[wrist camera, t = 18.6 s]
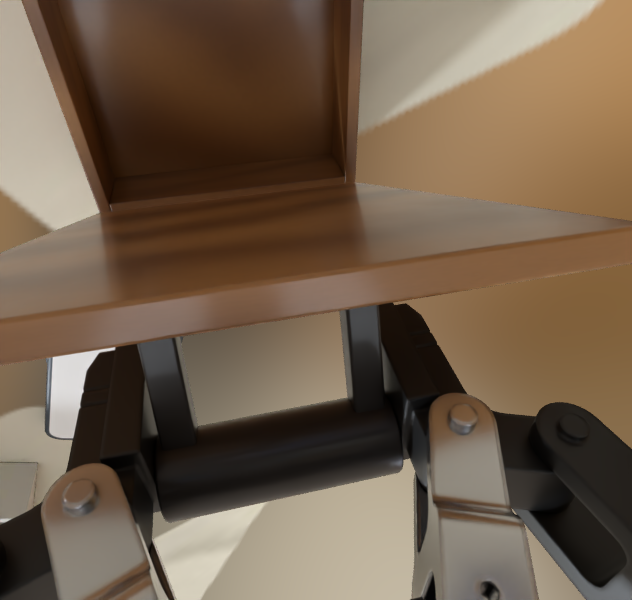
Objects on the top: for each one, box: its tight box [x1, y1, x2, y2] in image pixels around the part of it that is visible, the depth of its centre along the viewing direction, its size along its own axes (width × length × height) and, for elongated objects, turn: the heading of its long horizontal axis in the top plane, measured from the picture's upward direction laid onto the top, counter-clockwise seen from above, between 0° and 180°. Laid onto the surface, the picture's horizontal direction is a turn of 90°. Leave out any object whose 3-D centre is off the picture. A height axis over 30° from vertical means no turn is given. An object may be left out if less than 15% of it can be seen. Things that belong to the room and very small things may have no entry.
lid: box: [0, 182, 632, 523], centre depth 17 cm, size 19×14×5 cm
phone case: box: [45, 336, 183, 440], centre depth 36 cm, size 9×2×16 cm
